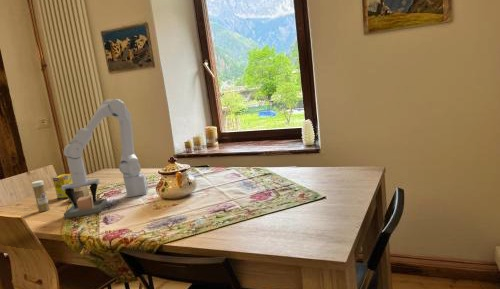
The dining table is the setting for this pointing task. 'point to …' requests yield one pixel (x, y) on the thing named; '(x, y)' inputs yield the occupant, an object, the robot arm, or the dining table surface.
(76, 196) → the oak block
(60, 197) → the supplement box
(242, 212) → the dining table surface
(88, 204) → the terracotta block
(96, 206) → the tray
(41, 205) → the sprinkles bottle
